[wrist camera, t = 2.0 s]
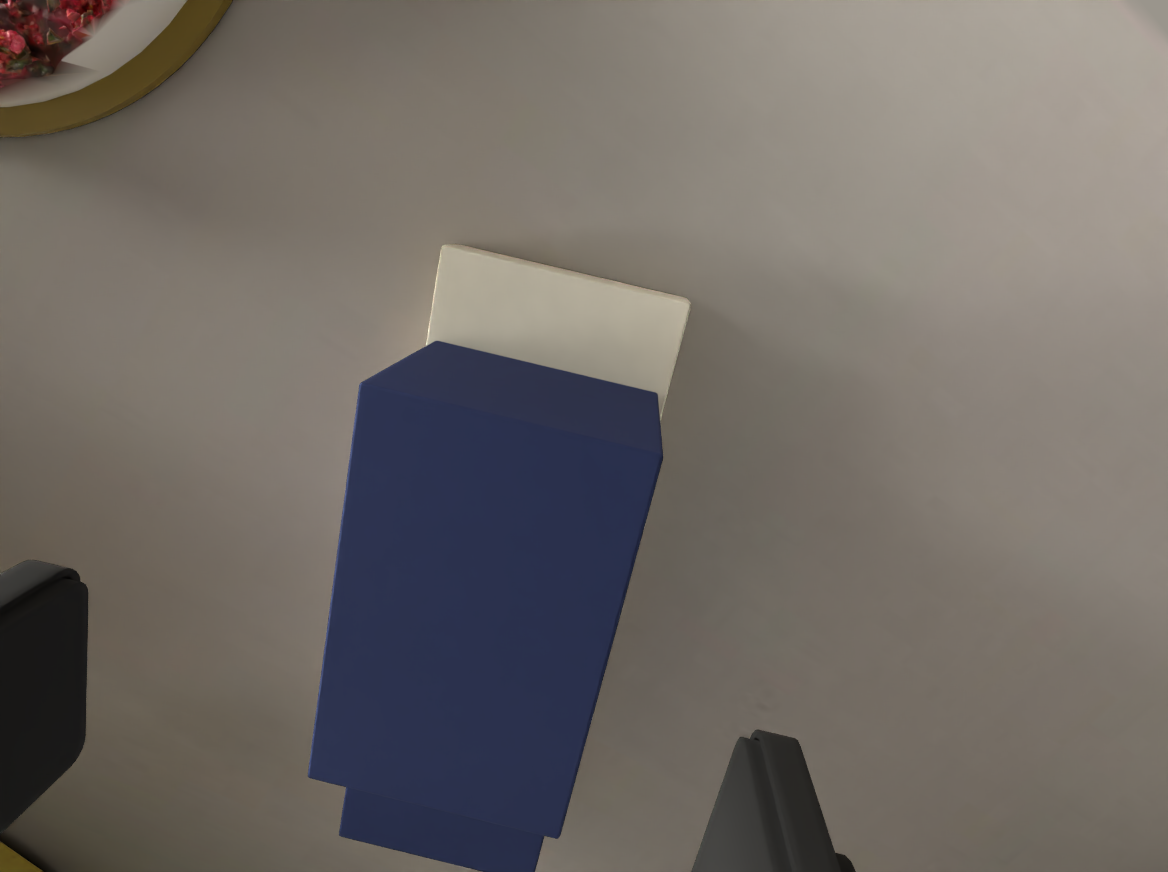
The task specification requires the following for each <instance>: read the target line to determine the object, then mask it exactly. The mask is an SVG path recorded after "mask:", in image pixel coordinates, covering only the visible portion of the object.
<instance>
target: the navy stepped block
mask: <svg viewBox="0 0 1168 872" xmlns="http://www.w3.org/2000/svg"><path fill="white" fill-rule="evenodd" d="M690 308H691V304H690V302H689V300H688V299H687V298H684V297H680V296H676V295H672V294H667V293H663V292H659V291H655V290H650V289H646V288H642V287H638V286H634V285H629V284H625V283H621V282H617V281H612V280H608V279H604V278H600V277H595V276H591V275H587V274H583V273H578V272H574V271H570V270H566V269H562V268H557V267H553V266H549V265H545V264H540V263H536V262H532V261H528V260H523V259H519V258H515V257H511V256H506V255H502V254H498V253H494V252H489V251H485V250H481V249H477V248H473V247H468V246H464V245H460V244H451V245H443V246H442V247H441V252H440V259H439V265H438V271H437V278H436V284H435V290H434V297H433V303H432V309H431V316H430V322H429V328H428V334H427V341H426V346H425V347H424V348H422V349H420V350H418V351H416V352H415V353H413V354H411V355H409V356H407V357H406V358H404V359H402V360H400V361H399V362H397V363H395V364H393V365H391V366H390V367H388V368H386V369H384V370H383V371H381V372H379V373H377V374H375V375H374V376H372V377H370V378H368V379H366V380H365V381H363V382H361V383H360V385H359V392H358V399H357V407H356V414H355V422H354V429H353V437H352V444H351V452H350V460H349V467H348V475H347V482H346V490H345V497H344V505H343V512H342V520H341V528H340V535H339V543H338V550H337V558H336V565H335V573H334V580H333V588H332V596H331V603H330V611H329V618H328V626H327V633H326V641H325V648H324V656H323V664H322V671H321V679H320V686H319V694H318V701H317V709H316V716H315V724H314V732H313V739H312V747H311V754H310V762H309V769H308V777H309V778H311V779H315V780H319V781H323V782H327V783H331V784H336V785H340V786H344V787H346V791H345V798H344V804H343V811H342V817H341V824H340V830H339V836H341V837H345V838H349V839H353V840H357V841H361V842H365V843H369V844H373V845H377V846H381V847H385V848H389V849H393V850H398V851H402V852H406V853H410V854H414V855H418V856H422V857H426V858H430V859H434V860H438V861H442V862H446V863H450V864H454V865H458V866H462V867H466V868H471V869H475V870H479V871H483V872H535V869H536V865H537V862H538V858H539V854H540V850H541V847H542V843H543V839H544V836H547V837H551V838H555V839H558V838H559V837H560V835H561V831H562V827H563V824H564V820H565V816H566V813H567V809H568V805H569V802H570V798H571V794H572V791H573V787H574V783H575V780H576V776H577V772H578V769H579V765H580V761H581V758H582V754H583V750H584V747H585V743H586V739H587V736H588V732H589V728H590V725H591V721H592V717H593V714H594V710H595V706H596V703H597V699H598V695H599V692H600V688H601V684H602V681H603V677H604V673H605V670H606V666H607V662H608V659H609V655H610V651H611V648H612V644H613V640H614V637H615V633H616V629H617V626H618V622H619V618H620V615H621V611H622V607H623V604H624V600H625V596H626V593H627V589H628V585H629V582H630V578H631V574H632V571H633V567H634V563H635V560H636V556H637V552H638V549H639V545H640V541H641V538H642V534H643V530H644V527H645V523H646V519H647V516H648V512H649V508H650V505H651V501H652V497H653V494H654V490H655V486H656V483H657V479H658V475H659V472H660V468H661V464H662V461H663V449H662V437H661V425H660V421H661V417H662V413H663V409H664V406H665V402H666V398H667V394H668V391H669V387H670V383H671V379H672V376H673V372H674V368H675V364H676V361H677V357H678V353H679V349H680V346H681V342H682V338H683V334H684V331H685V327H686V323H687V319H688V316H689V312H690Z"/></svg>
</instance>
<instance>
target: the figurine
mask: <svg viewBox="0 0 1168 872" xmlns="http://www.w3.org/2000/svg"><path fill="white" fill-rule="evenodd" d="M231 2H232V0H0V137H25V136H34V135H42V134H50V133H54V132H59V131H63V130H68V129H72V128H75V127H79V126H82V125H85V124H88V123H91V122H94V121H97V120H99V119H101V118H103V117H106V116H108V115H110V114H113V113H115V112H117V111H119V110H121V109H123V108H124V107H126V106H128V105H130V104H131V103H133V102H135V101H137V100H139V99H140V98H141V97H143V96H144V95H146V94H147V93H149V92H150V91H152V90H153V89H154V88H156V87H157V86H159V85H160V84H161V83H162V82H163V81H165V80H166V79H167V78H168V77H169V76H171V75H172V74H173V73H174V72H175V71H177V70H178V69H179V68H180V67H181V66H182V65H183V64H184V63H185V62H186V61H187V60H188V59H189V58H190V57H191V55H192V54H193V53H194V52H195V51H196V50H197V49H198V48H199V47H200V45H201V44H202V43H203V42H204V41H205V39H206V38H207V37H208V36H209V34H210V33H211V32H212V31H213V29H214V28H215V26H216V25H217V24H218V22H219V21H220V19H221V18H222V16H223V15H224V13H225V12H226V10H227V9H228V7H229V6H230V4H231Z"/></svg>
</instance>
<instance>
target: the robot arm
mask: <svg viewBox="0 0 1168 872" xmlns="http://www.w3.org/2000/svg"><path fill="white" fill-rule="evenodd" d="M87 640H88V588H87V586H86V584H84V583H82V582H80V576H79V574H78V573H77V571H75V570H73V569H71V568H67V567H62V566H58V565H54V564H49V563H45V562H41V561H37V560H27V561H24V562H22V563H19V564H18V565H16V566H14V567H12V568H10V569H9V570H7V571H5V572H3V573H1V574H0V834H1V833H2V832H3V831H4V830H5V829H6V828H8V827H9V826H10V825H11V824H12V823H13V822H14V821H15V820H16V819H17V818H18V817H19V816H20V815H21V814H22V813H23V812H24V811H25V810H26V809H27V808H28V807H29V806H30V805H31V804H32V803H33V802H35V801H36V800H37V799H38V798H39V797H40V796H41V795H42V794H43V793H44V792H45V791H46V790H47V789H48V788H49V787H50V786H51V785H52V784H53V783H54V782H55V781H56V780H57V779H58V778H59V777H61V776H62V775H63V774H64V773H65V772H66V771H67V770H68V769H69V768H70V767H71V766H72V764H73V763H74V762H75V761H76V759H77V758H78V756H79V754H80V752H81V750H82V748H83V745H84V742H85V736H86V689H87ZM691 872H856V871H855V869H854V867H853V865H852V863H851V861H850V860H849V859H848V858H847V857H846V856H845V855H842V854H838V853H835V851H834V848H833V845H832V842H831V839H830V836H829V833H828V830H827V826H826V823H825V820H824V817H823V814H822V811H821V808H820V805H819V802H818V799H817V795H816V792H815V789H814V786H813V783H812V780H811V777H810V774H809V771H808V768H807V764H806V761H805V758H804V755H803V752H802V749H801V746H800V744H799V742H798V740H797V739H795V738H792V737H788V736H783V735H779V734H775V733H771V732H766V731H762V730H755V731H754V732H753V733H752V735H751V737H750V739H748V738H744V737H740V738H739V739H738V740H737V743H736V745H735V748H734V750H733V753H732V756H731V759H730V762H729V765H728V768H727V771H726V773H725V776H724V779H723V782H722V785H721V788H720V791H719V794H718V796H717V799H716V802H715V805H714V808H713V811H712V814H711V817H710V819H709V822H708V825H707V828H706V831H705V834H704V837H703V840H702V842H701V845H700V848H699V851H698V854H697V857H696V860H695V863H694V865H693V868H692V871H691Z"/></svg>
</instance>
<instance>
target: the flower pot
mask: <svg viewBox="0 0 1168 872" xmlns="http://www.w3.org/2000/svg"><path fill="white" fill-rule="evenodd" d="M0 872H43V871H42V870H40V869H39V868H38V867H36V866H35V865H33V864H32V863H30V862H29V861H28V860H26V859H25V858H23V857H22V856H20V855H19V854H18V853H16V852H15V851H13V850H12V849H10V848H9V847H8V846H6V845H5V844H3V843H2V842H0Z"/></svg>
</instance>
